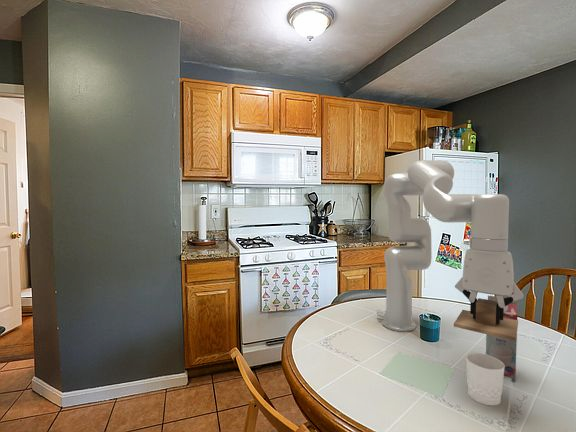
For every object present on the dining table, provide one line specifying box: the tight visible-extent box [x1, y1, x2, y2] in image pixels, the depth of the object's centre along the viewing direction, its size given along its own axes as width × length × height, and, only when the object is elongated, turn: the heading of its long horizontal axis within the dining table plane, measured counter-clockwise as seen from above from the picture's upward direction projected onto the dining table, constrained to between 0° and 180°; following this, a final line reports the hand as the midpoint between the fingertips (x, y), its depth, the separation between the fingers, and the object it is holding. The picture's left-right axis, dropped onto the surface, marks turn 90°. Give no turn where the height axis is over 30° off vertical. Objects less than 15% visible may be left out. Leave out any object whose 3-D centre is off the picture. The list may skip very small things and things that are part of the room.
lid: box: [453, 297, 519, 341], centre depth 74 cm, size 12×12×6 cm
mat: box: [378, 351, 455, 398], centre depth 86 cm, size 16×16×1 cm
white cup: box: [465, 352, 505, 406], centre depth 74 cm, size 8×8×10 cm
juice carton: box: [485, 294, 518, 383], centre depth 86 cm, size 7×7×22 cm
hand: (486, 319), depth 74 cm, fingers closed on lid, 4 cm apart
